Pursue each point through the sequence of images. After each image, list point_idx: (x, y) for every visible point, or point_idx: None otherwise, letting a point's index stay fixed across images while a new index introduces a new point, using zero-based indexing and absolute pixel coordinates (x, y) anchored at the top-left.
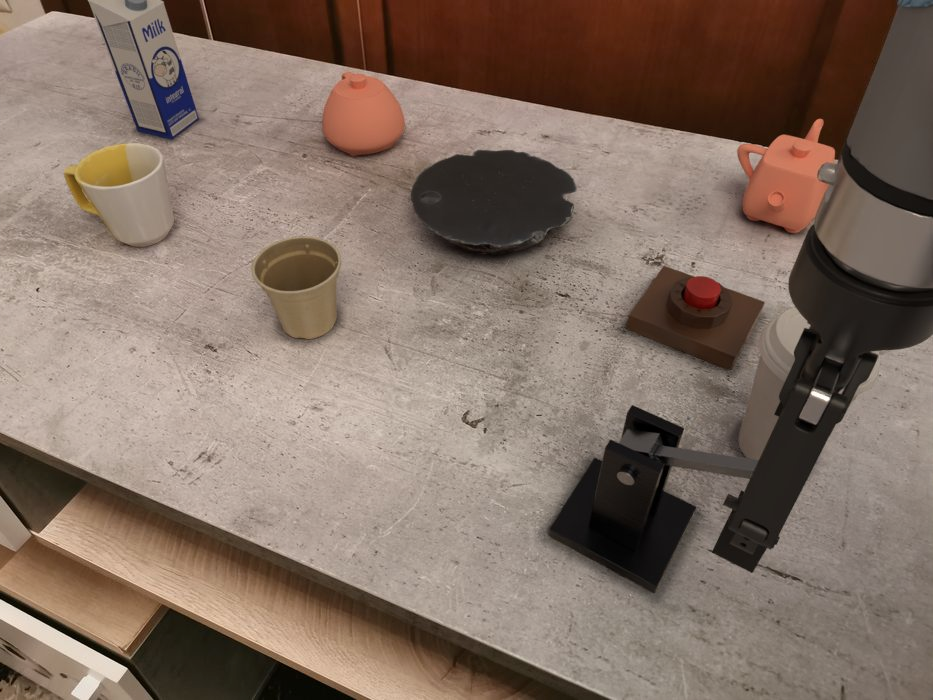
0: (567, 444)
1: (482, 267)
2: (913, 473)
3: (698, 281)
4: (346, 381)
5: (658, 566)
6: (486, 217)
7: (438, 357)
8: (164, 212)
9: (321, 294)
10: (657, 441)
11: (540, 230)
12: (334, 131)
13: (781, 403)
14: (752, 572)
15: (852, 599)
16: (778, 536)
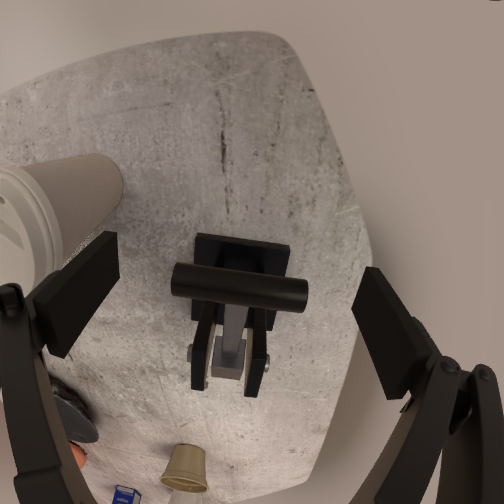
0: (185, 333)
1: (89, 398)
2: (72, 71)
3: None
4: (216, 433)
5: (270, 253)
6: (66, 416)
7: (168, 407)
8: (181, 497)
9: (189, 472)
10: (221, 364)
11: None
12: (82, 464)
13: (109, 290)
14: (378, 268)
15: (221, 87)
16: (488, 378)
